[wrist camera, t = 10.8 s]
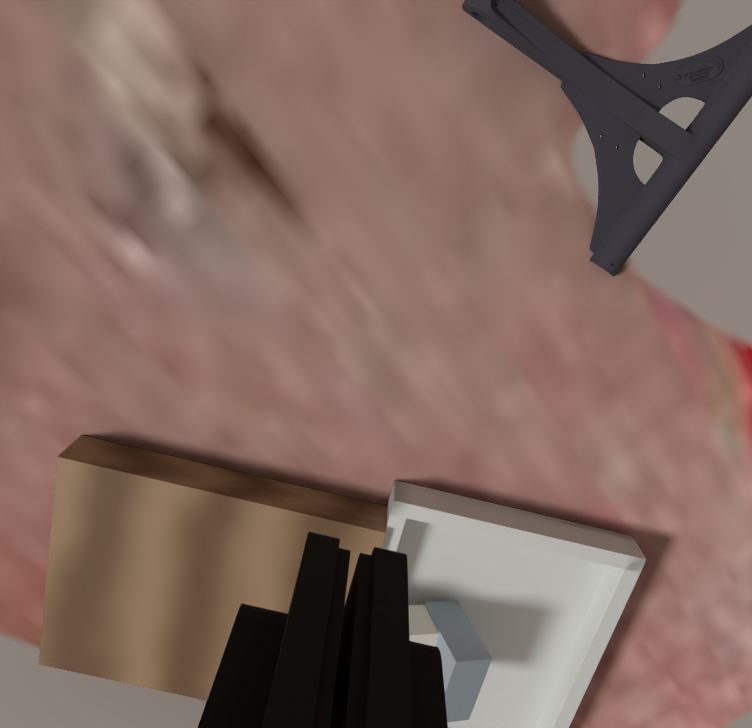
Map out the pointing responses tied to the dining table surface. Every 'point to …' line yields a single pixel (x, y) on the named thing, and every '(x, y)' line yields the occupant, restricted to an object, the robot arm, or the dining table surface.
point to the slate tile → (459, 658)
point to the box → (517, 595)
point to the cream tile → (422, 626)
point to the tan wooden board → (175, 560)
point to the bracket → (633, 117)
